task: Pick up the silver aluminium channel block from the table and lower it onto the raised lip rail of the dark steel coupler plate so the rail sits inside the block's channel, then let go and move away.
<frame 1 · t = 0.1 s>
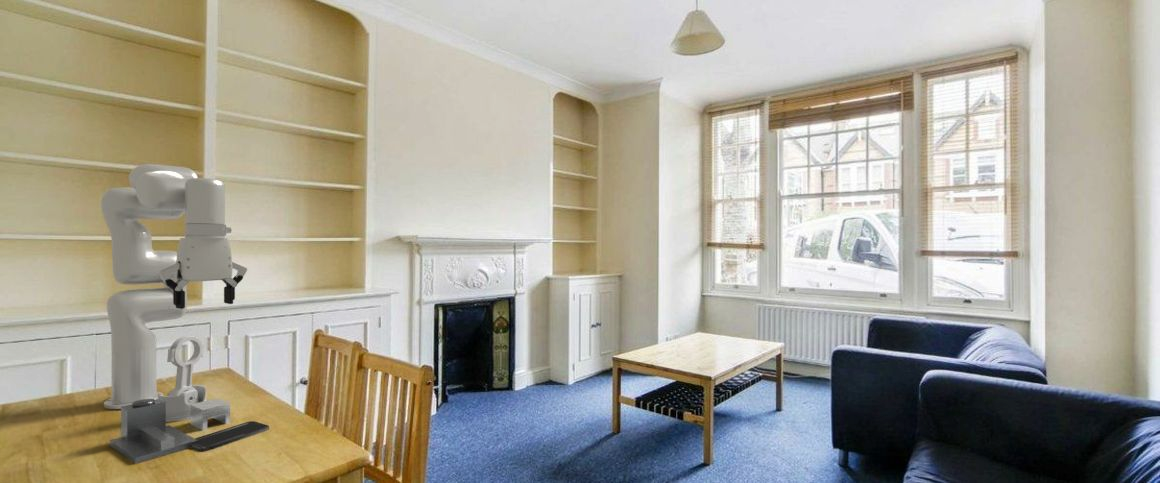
hand: (205, 305, 118), 31 cm above the table, tool pointing down, fingers open, 9 cm apart
coupler: (153, 445, 115), on the table
engine component: (184, 414, 135), on the table
phone: (229, 439, 120), on the table
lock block: (210, 423, 128), on the table
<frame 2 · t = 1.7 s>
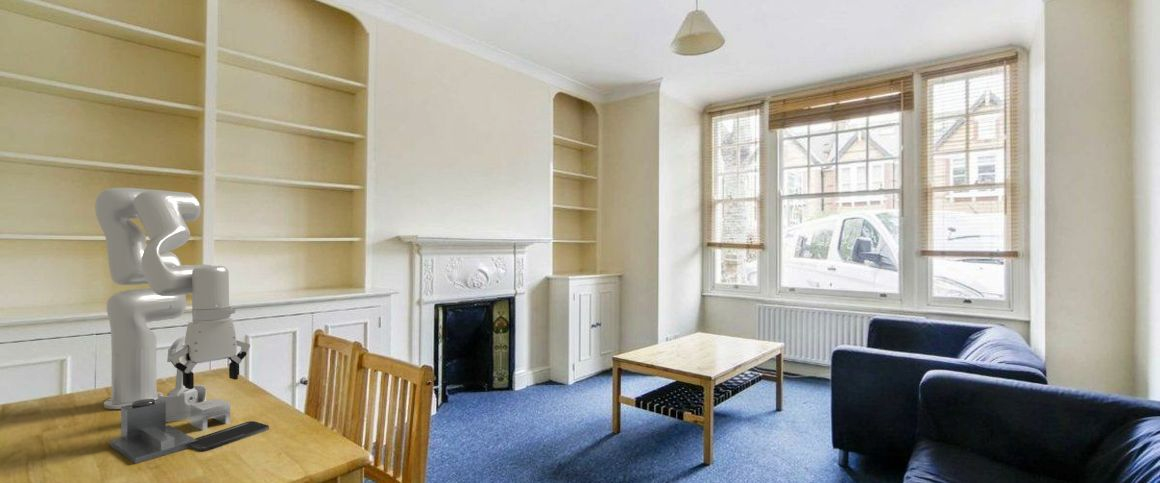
hand: (212, 383, 128), 10 cm above the table, tool pointing down, fingers open, 9 cm apart
nothing on the table moved.
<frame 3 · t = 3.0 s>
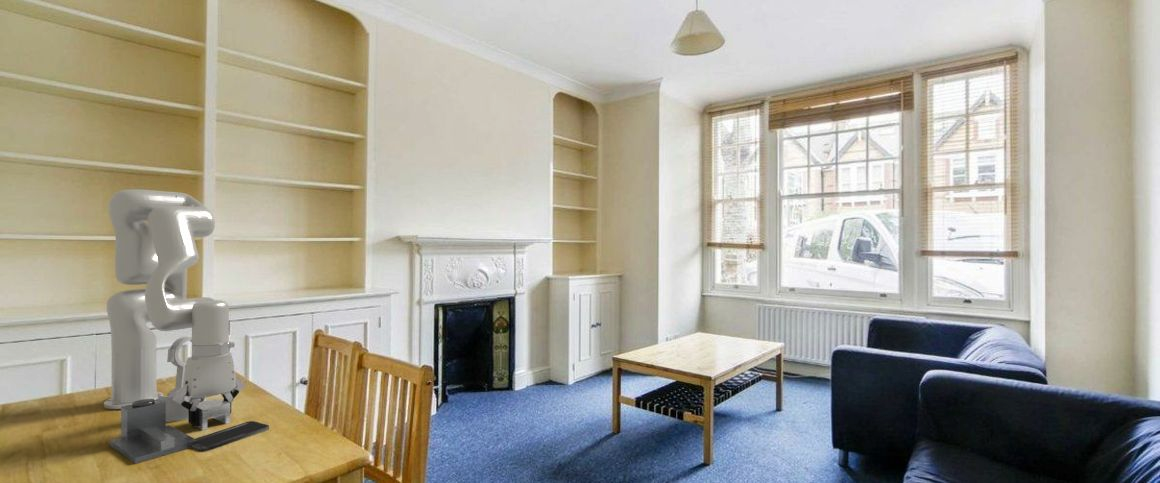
hand: (210, 420, 128), 1 cm above the table, tool pointing down, fingers closed on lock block, 6 cm apart
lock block: (210, 423, 128), on the table, touching gripper
everything else where it was.
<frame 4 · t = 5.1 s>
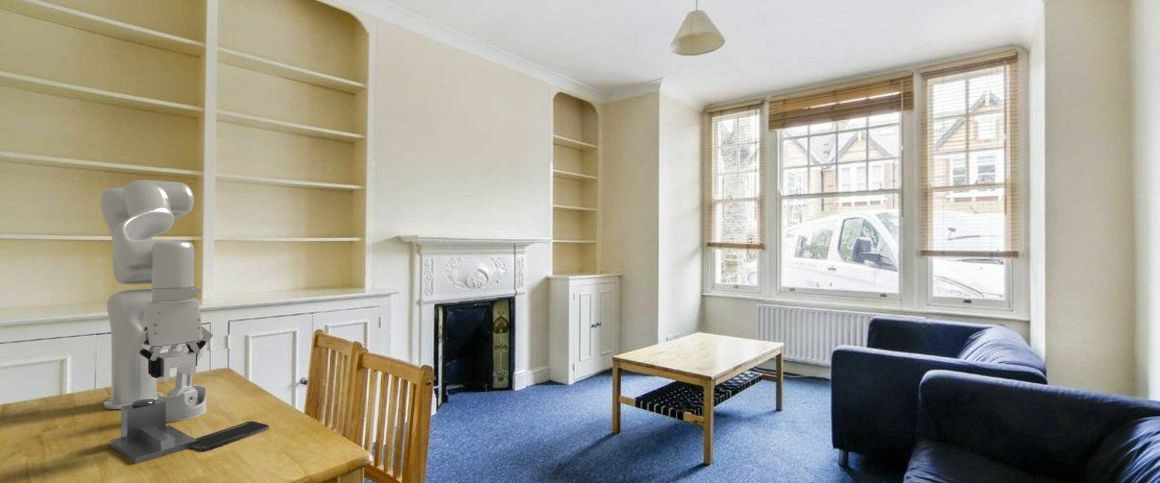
hand: (173, 372, 117), 16 cm above the table, tool pointing down, fingers closed on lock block, 6 cm apart
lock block: (173, 375, 117), point 15 cm above the table, touching gripper
everything else where it was.
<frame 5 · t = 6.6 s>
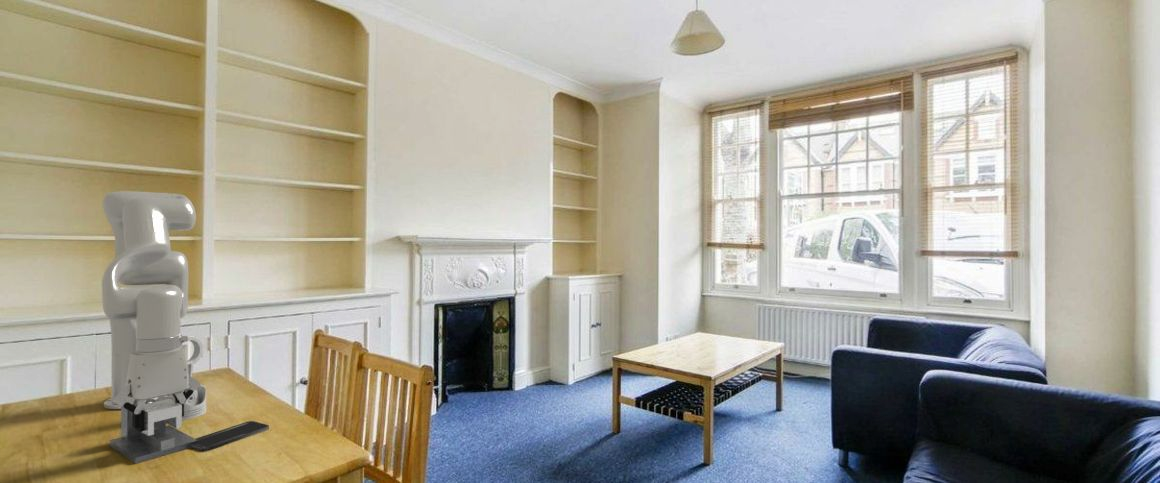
hand: (158, 424, 113), 5 cm above the table, tool pointing down, fingers closed on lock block, 6 cm apart
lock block: (159, 427, 113), point 5 cm above the table, touching gripper
everything else where it was.
when the fingers open (3 cm above the table, at t = 7.5 s): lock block stays where it is, resting on coupler.
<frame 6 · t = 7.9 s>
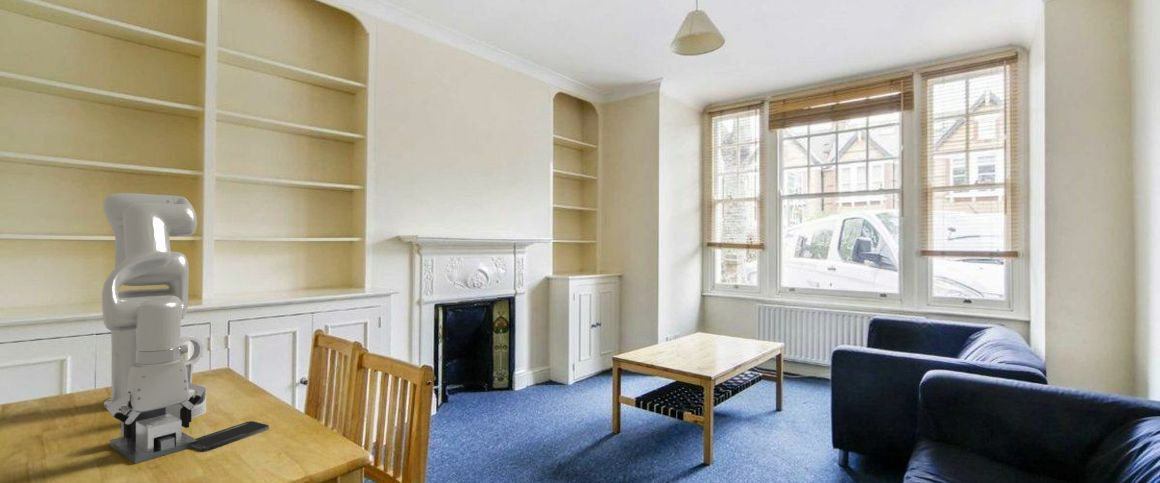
hand: (158, 433, 113), 3 cm above the table, tool pointing down, fingers open, 9 cm apart
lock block: (158, 443, 113), point 1 cm above the table, touching coupler
everything else where it was.
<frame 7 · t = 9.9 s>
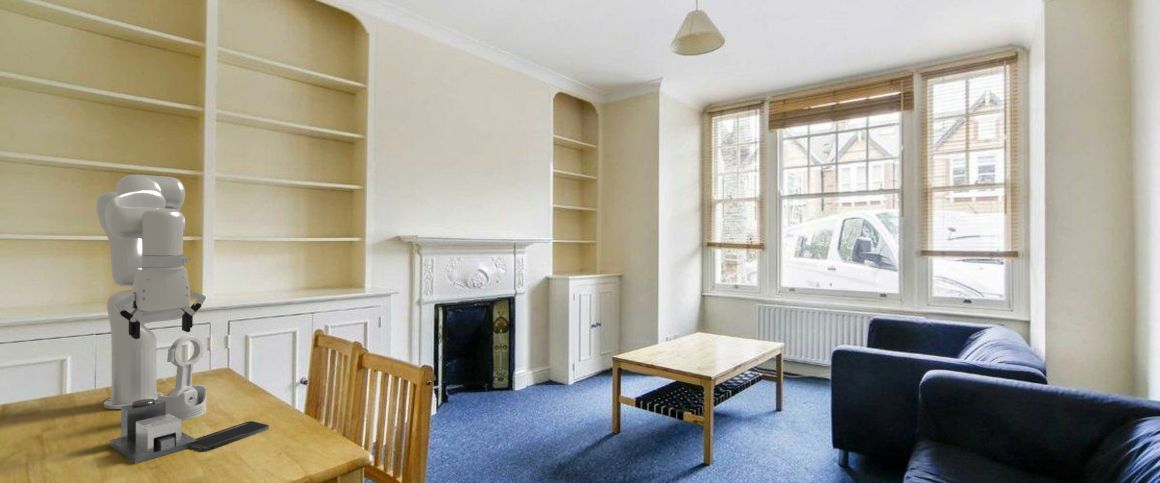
hand: (161, 334, 120), 24 cm above the table, tool pointing down, fingers open, 9 cm apart
nothing on the table moved.
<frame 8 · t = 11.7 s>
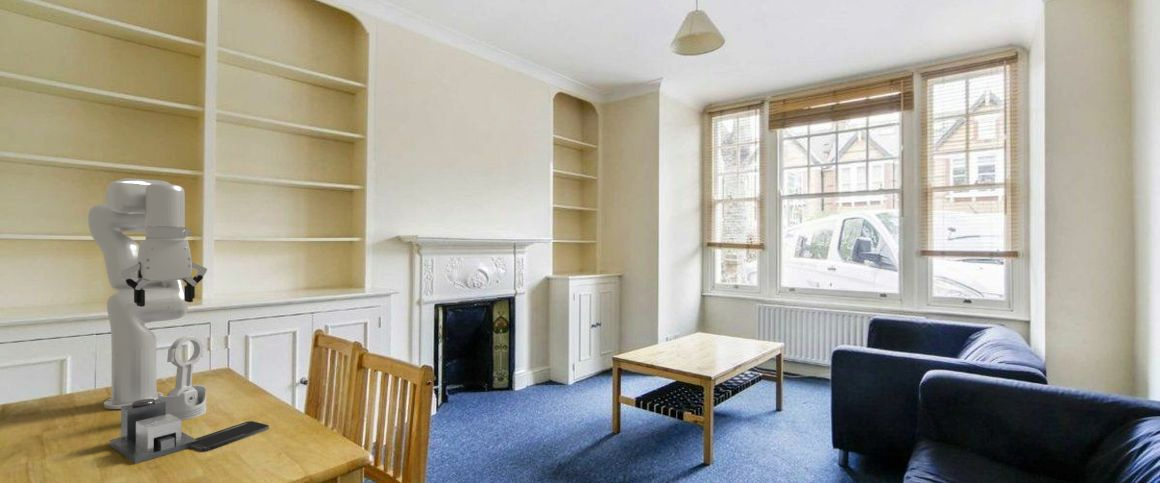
hand: (165, 303, 126), 30 cm above the table, tool pointing down, fingers open, 9 cm apart
nothing on the table moved.
at the end: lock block 0.8 cm from the target spot on the coupler, point 1.2 cm above the coupler's base; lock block tilted 0°; the gripper is holding nothing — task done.
